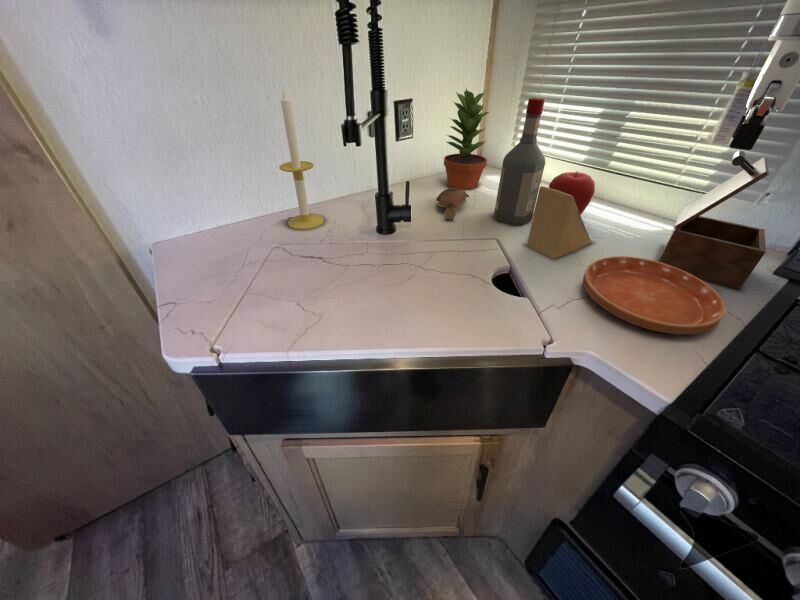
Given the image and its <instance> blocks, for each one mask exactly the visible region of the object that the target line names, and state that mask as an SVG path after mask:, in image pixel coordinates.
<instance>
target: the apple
mask: <svg viewBox="0 0 800 600" xmlns="http://www.w3.org/2000/svg"><path fill="white" fill-rule="evenodd" d="M595 185H596V184H595V180H594V179H593V178H592V177H591V175H589V174H588V173H585V172H580V171H578V170H576V171H568V172H562V173H559V174H558V175H557V176H555V177H553V179H552V180H551V181H550V182H549V184H548V188H551V189H555V190H558V191H561V192H564V193H566V194H569V195H572V196H573V197H574V200H575V203H576V206H577V208H578V211H579V214H580V216H581V215H582V214H583V213H584V211H585V210H586V209H587V208H588V206H589V205H590V203H591V201H592V199H593V196H594V194H595V193H596V191H595V190H596V186H595Z"/></svg>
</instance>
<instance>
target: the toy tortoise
mask: <svg viewBox="0 0 800 600" xmlns="http://www.w3.org/2000/svg"><path fill="white" fill-rule="evenodd" d="M467 198H471V196H470V195H469V194H467V192H466V190H463V189H455V188H452V187H449V188H447V189H444V190H443V191H442V192H440V193H439V194H438V195H437V197H436V199H435V201H436V202H437V203H436V206H437V207H440V208H445V211H444V220H445V221H453V220H454V218H455V216H456V208H457V207H458V206H461V205H464V204H466V203H467V202H468V200H467Z"/></svg>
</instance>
